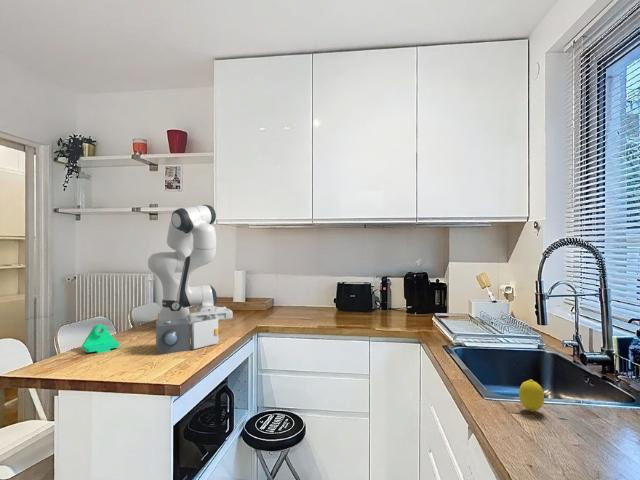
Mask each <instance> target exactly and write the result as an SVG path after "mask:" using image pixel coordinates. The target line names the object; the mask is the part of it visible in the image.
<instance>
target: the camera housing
mask: <svg viewBox="0 0 640 480" xmlns="http://www.w3.org/2000/svg"><path fill="white" fill-rule="evenodd" d="M155 325H156V327H155V350H156V352H157V355H164V354H172V353H180V352H181V353H182V352H191V325H190V323H189V321H188V320H187V319H186V318H184V319H173V320H162V321H158V320H155Z"/></svg>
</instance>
